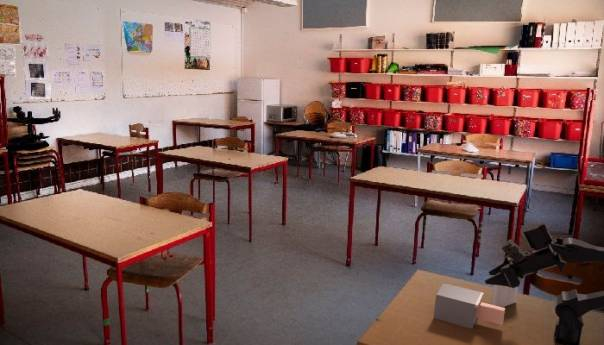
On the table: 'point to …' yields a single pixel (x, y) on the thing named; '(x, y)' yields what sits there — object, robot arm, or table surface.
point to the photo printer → (503, 295)
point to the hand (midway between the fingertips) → (487, 277)
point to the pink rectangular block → (490, 313)
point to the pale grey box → (457, 305)
